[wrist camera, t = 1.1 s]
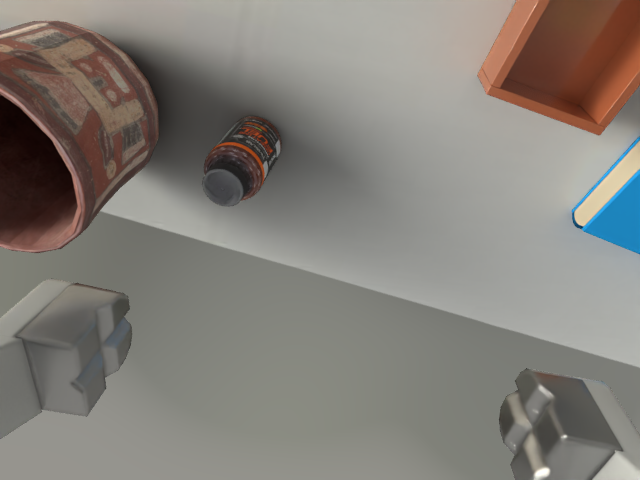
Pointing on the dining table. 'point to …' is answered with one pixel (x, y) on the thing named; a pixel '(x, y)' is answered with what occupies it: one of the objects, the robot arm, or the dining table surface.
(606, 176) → the book
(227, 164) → the supplement bottle
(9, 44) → the pottery
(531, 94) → the caddy
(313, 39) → the dining table surface
